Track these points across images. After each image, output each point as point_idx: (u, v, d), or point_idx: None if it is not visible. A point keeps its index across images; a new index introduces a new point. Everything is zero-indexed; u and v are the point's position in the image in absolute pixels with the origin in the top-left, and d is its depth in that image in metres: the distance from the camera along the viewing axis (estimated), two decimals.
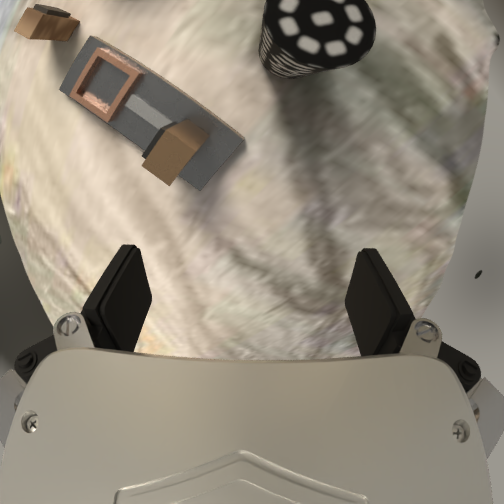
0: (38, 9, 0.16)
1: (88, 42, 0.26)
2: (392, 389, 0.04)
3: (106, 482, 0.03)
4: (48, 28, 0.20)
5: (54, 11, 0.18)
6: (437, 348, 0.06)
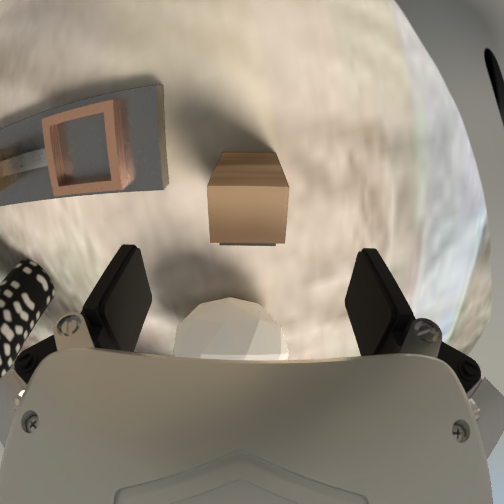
0: None
1: (157, 179, 0.24)
2: (392, 389, 0.04)
3: (106, 482, 0.03)
4: None
5: None
6: (437, 348, 0.06)
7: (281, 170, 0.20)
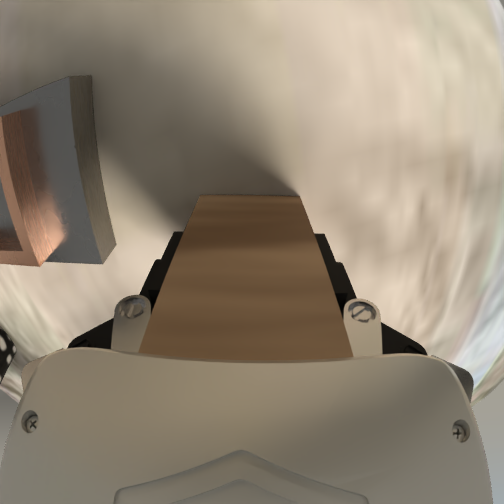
0: None
1: (91, 248, 0.13)
2: (392, 389, 0.04)
3: (106, 482, 0.03)
4: None
5: None
6: (378, 325, 0.07)
7: (324, 273, 0.08)
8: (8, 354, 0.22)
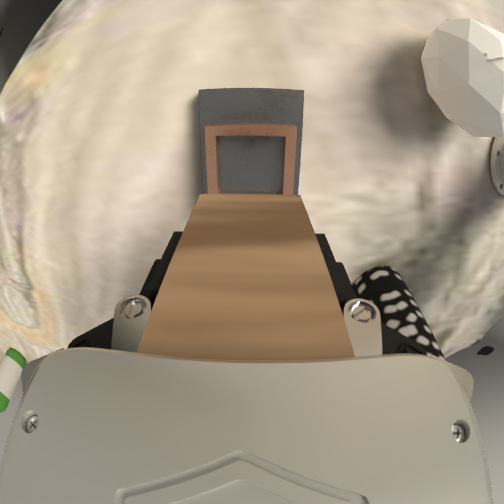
0: None
1: (293, 93, 0.23)
2: (392, 389, 0.04)
3: (106, 482, 0.03)
4: None
5: None
6: (378, 325, 0.07)
7: (325, 271, 0.08)
8: (394, 274, 0.35)
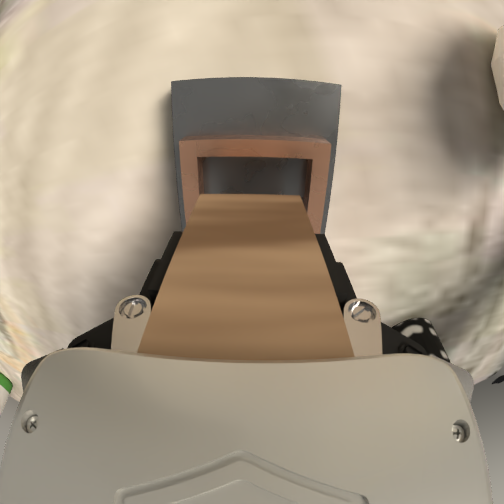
0: None
1: (324, 89, 0.14)
2: (392, 389, 0.04)
3: (106, 482, 0.03)
4: None
5: None
6: (378, 325, 0.07)
7: (325, 271, 0.08)
8: (428, 328, 0.26)
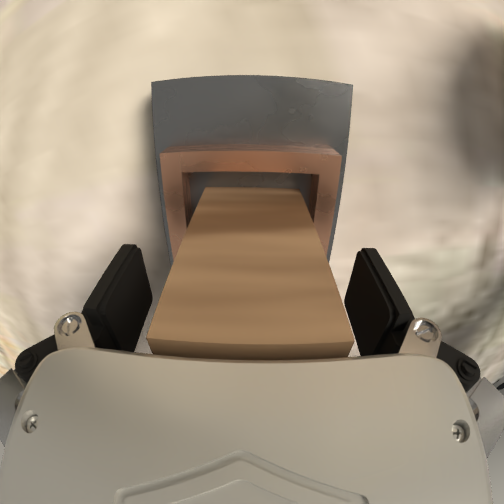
0: None
1: (332, 89, 0.11)
2: (392, 389, 0.04)
3: (106, 482, 0.03)
4: None
5: None
6: (436, 348, 0.06)
7: (322, 254, 0.09)
8: None
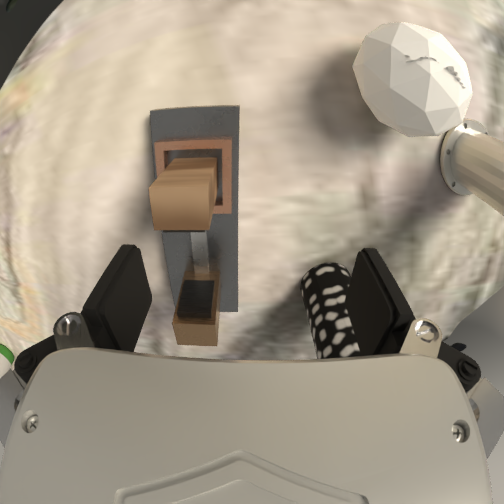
0: None
1: (229, 110, 0.27)
2: (392, 389, 0.04)
3: (106, 482, 0.03)
4: None
5: None
6: (437, 348, 0.06)
7: (210, 172, 0.25)
8: (340, 270, 0.40)
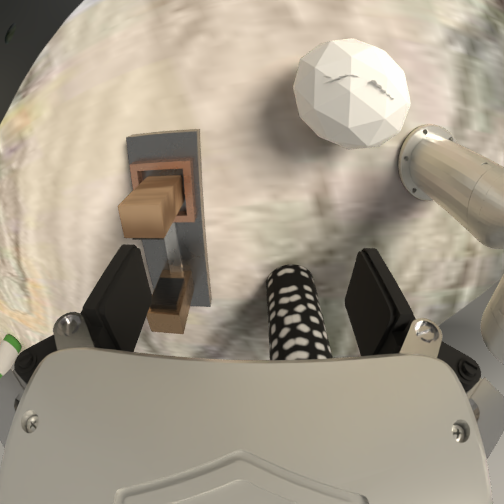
0: None
1: (189, 134, 0.33)
2: (392, 389, 0.04)
3: (106, 482, 0.03)
4: None
5: None
6: (437, 348, 0.06)
7: (168, 191, 0.30)
8: (300, 271, 0.45)
